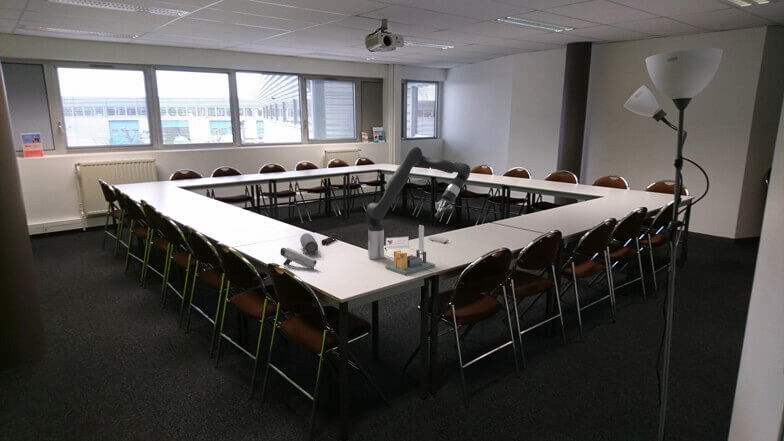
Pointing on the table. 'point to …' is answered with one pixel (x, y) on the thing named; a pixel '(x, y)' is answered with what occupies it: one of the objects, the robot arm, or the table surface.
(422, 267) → the socket board
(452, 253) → the table surface
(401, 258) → the tan upright block
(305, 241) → the bluetooth speaker
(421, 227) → the grey rod
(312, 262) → the gun
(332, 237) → the hand tool
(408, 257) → the heat sink
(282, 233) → the table surface
